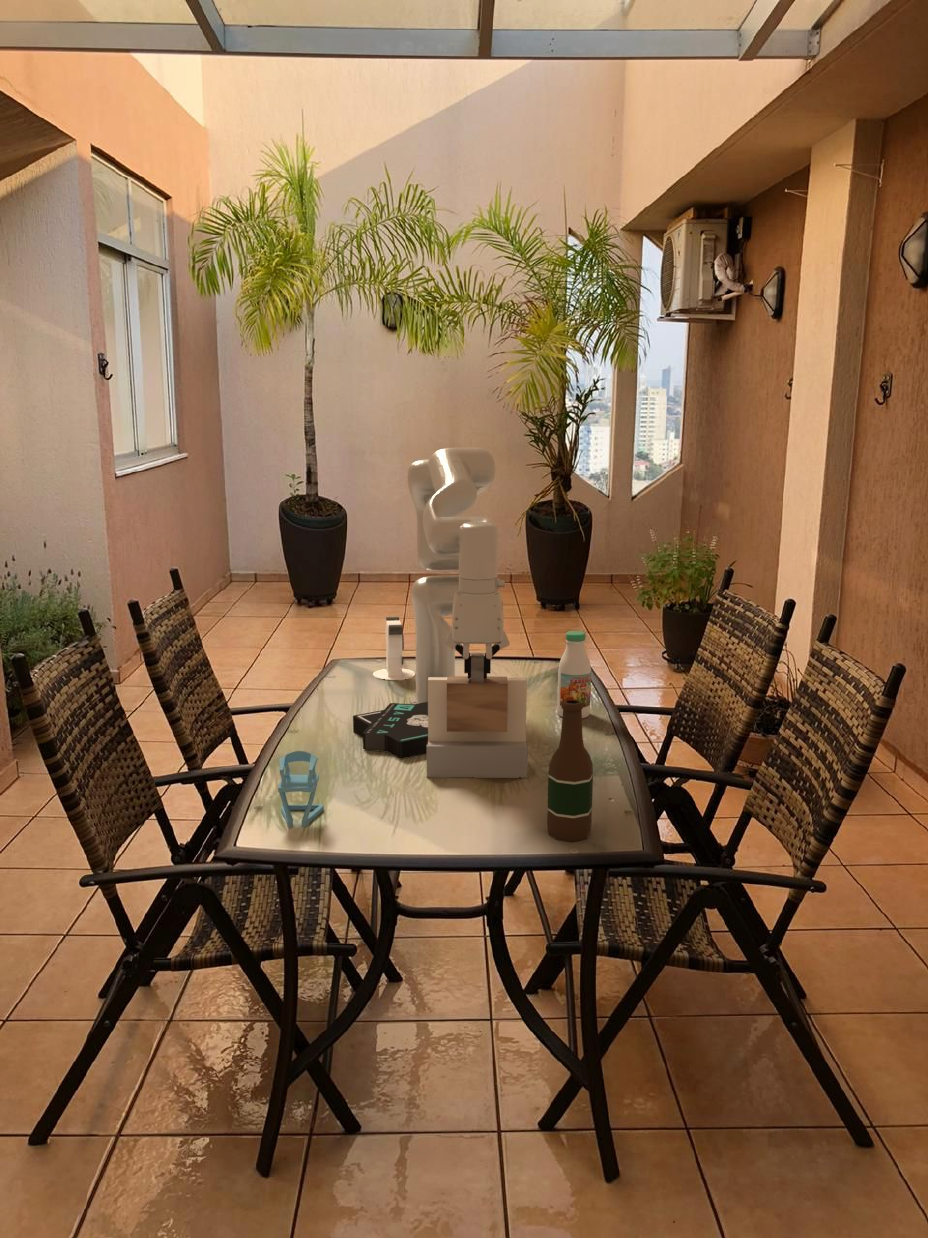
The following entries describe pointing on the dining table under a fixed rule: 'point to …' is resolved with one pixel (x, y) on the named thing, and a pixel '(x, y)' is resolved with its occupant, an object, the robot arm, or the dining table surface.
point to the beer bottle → (570, 780)
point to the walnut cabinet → (477, 700)
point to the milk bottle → (574, 673)
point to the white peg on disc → (394, 653)
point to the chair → (299, 787)
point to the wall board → (477, 739)
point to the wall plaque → (395, 729)
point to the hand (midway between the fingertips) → (477, 676)
